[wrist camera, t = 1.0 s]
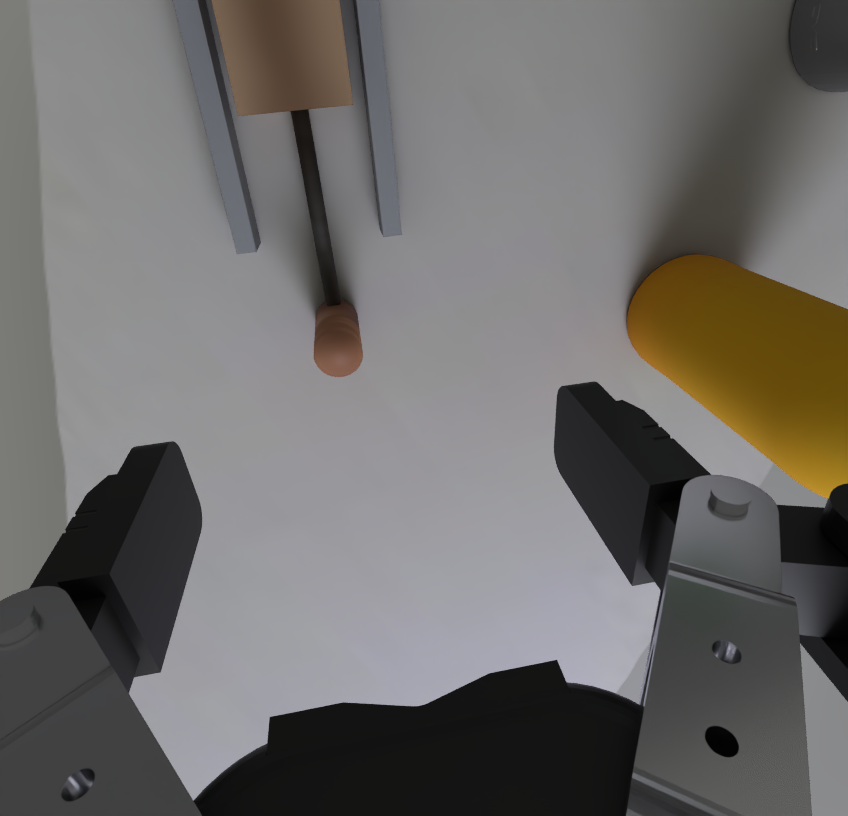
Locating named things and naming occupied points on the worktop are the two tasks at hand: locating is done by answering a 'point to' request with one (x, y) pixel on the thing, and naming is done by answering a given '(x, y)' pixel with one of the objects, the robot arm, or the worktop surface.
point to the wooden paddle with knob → (297, 122)
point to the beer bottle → (752, 360)
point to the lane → (223, 132)
